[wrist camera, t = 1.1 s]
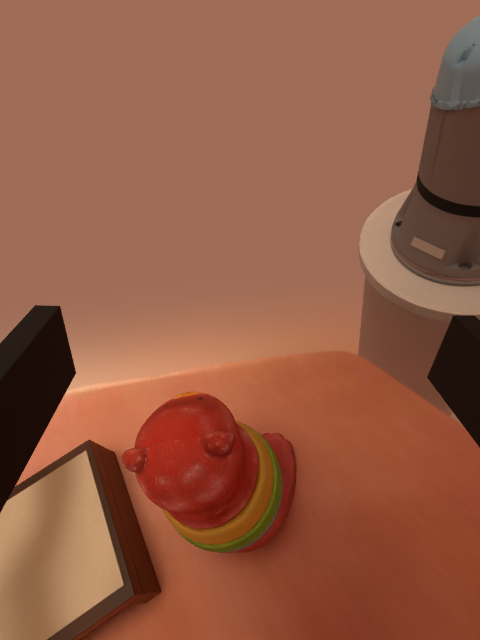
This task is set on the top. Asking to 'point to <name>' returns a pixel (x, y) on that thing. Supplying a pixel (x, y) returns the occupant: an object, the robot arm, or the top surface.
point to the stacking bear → (213, 474)
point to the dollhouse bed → (71, 549)
